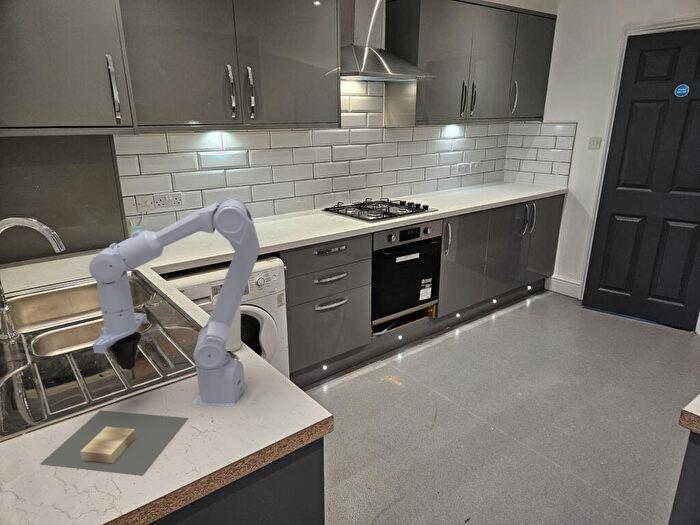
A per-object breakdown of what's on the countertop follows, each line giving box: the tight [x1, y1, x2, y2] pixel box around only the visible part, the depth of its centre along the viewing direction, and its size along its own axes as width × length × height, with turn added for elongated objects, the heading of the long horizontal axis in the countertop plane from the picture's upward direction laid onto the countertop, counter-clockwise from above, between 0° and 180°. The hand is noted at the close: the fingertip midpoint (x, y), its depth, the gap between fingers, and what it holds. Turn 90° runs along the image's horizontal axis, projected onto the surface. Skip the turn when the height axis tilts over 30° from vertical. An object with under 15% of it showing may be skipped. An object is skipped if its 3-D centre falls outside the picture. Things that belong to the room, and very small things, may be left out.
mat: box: [39, 409, 190, 477], centre depth 87 cm, size 20×16×1 cm
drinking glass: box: [212, 293, 242, 353], centre depth 121 cm, size 7×7×15 cm
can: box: [130, 225, 147, 238], centre depth 219 cm, size 7×7×12 cm
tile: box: [80, 427, 136, 464], centre depth 84 cm, size 6×2×7 cm
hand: (128, 367), depth 95 cm, fingers closed
